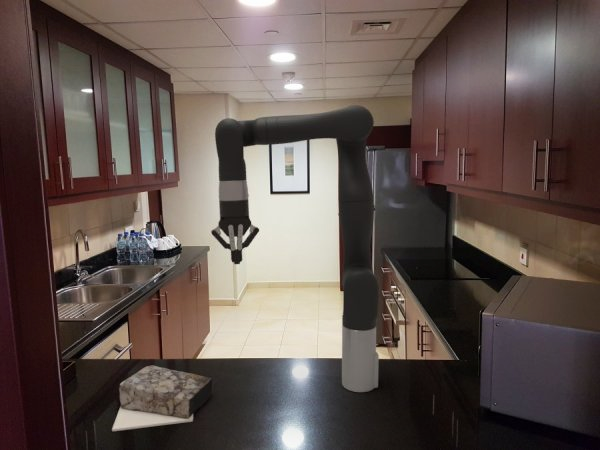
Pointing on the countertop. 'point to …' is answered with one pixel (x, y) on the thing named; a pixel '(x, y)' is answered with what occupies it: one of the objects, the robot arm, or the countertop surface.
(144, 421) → the mat
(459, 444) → the countertop surface
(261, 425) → the countertop surface
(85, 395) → the countertop surface
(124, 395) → the stone block
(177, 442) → the countertop surface
